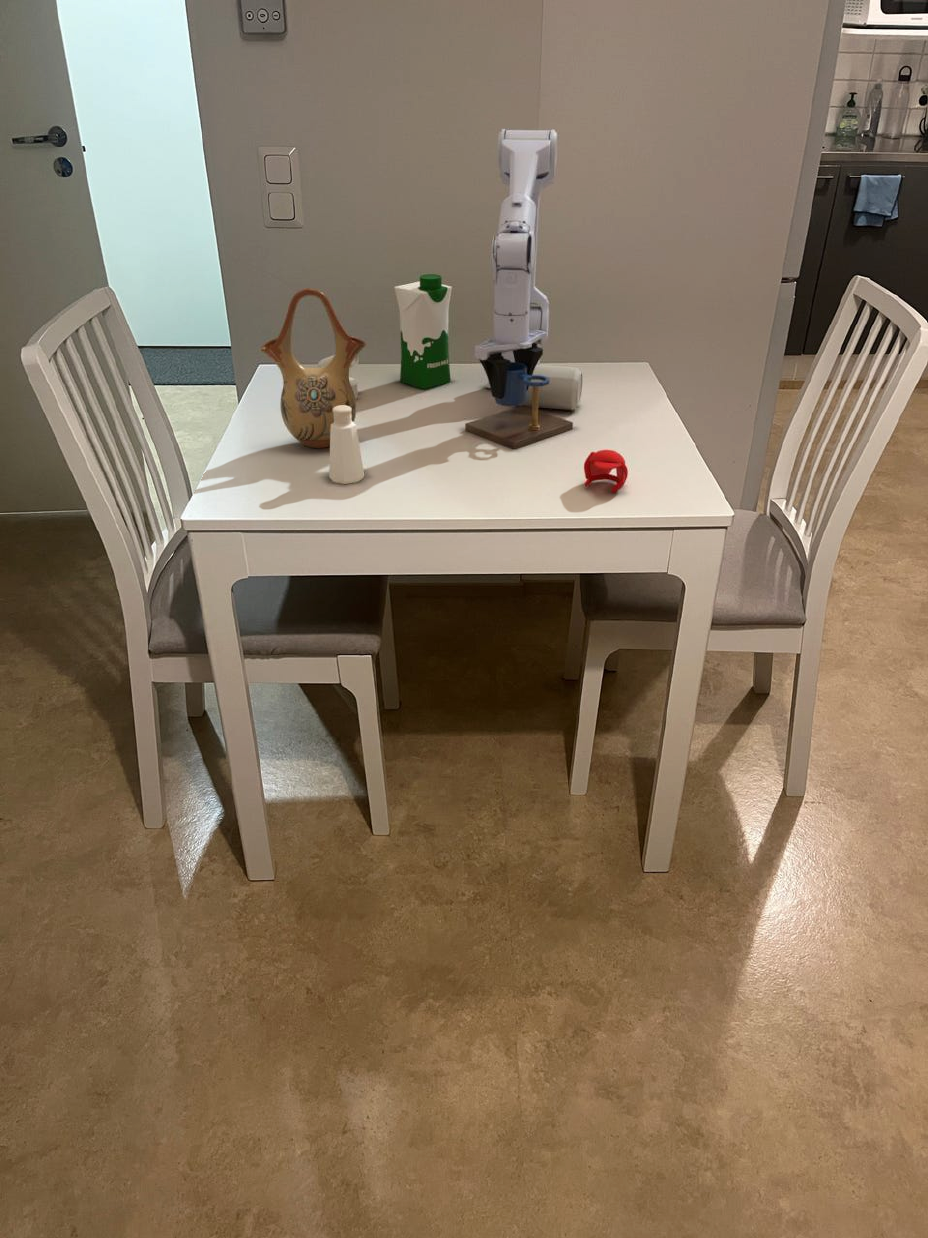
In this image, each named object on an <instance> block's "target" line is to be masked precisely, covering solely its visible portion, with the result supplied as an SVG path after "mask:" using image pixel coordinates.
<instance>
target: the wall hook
mask: <svg viewBox="0 0 928 1238" xmlns="http://www.w3.org/2000/svg"><path fill="white" fill-rule="evenodd" d="M334 355H335V354H333V355H331V356H328V357H325V358H323V359H321V360H319V362H318V363H317V365H316V368H319V367H323V366H325V365H327V364H328V363H329V362H330V361H331V360H332V359H333V357H334ZM359 360H360V358H359V353H358V354H357V356H356V357H355V358H354V360H353V361H352V363H351V366H350V368H353V367H355V366H357V365H358V364H359ZM349 382H350V385H351V387H352V390H353V392H354V395H355V400H356V399H357V398H358V396H359V393H358V381H357V380H356V379H355V378H353V377H350V376H349Z"/></svg>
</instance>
